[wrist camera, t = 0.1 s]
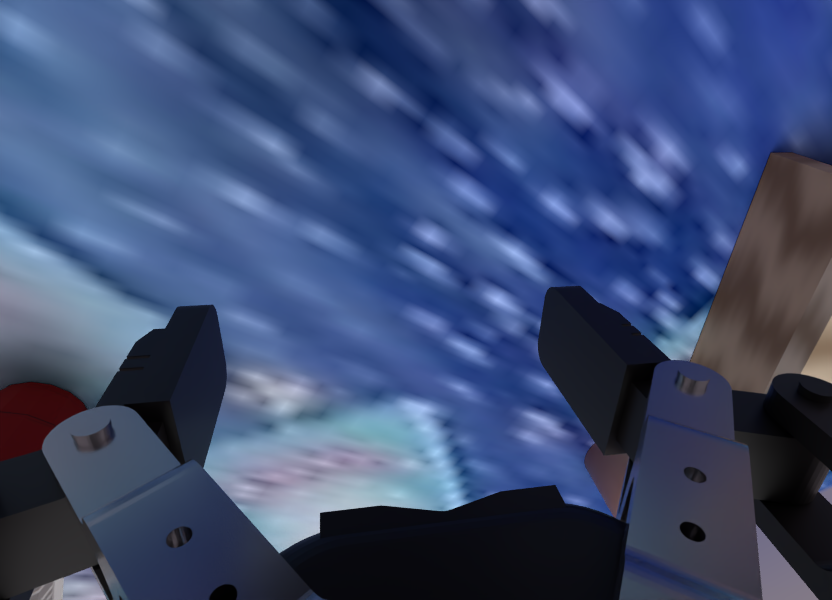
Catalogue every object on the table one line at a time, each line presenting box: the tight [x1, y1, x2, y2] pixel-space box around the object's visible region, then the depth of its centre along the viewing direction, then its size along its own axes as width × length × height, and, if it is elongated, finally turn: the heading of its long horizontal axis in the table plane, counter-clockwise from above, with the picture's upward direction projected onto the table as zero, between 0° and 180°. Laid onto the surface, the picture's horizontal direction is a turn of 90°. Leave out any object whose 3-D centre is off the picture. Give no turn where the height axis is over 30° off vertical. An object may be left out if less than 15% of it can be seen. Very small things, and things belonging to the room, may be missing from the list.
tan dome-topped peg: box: [585, 443, 629, 518], centre depth 39 cm, size 5×5×11 cm
